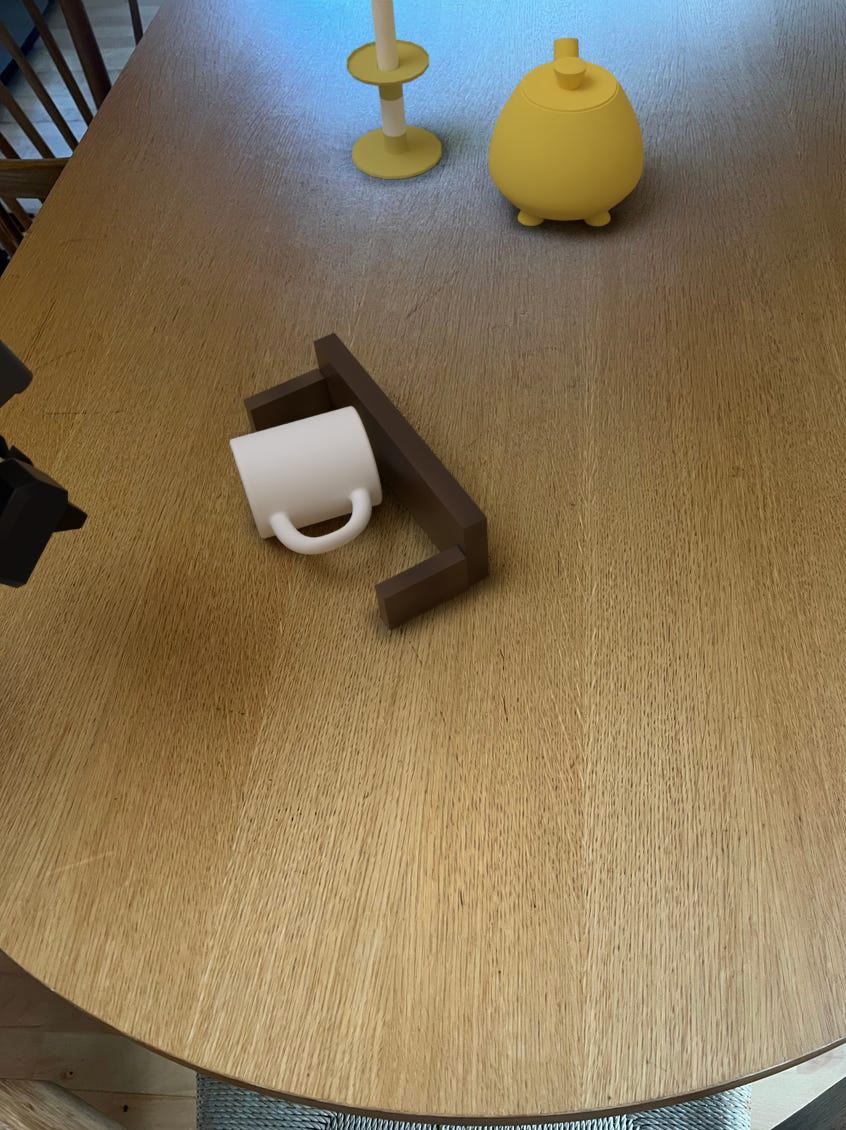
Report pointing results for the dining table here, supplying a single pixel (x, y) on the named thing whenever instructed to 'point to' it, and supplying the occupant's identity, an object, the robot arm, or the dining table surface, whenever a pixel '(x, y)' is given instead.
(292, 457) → the mug
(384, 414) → the shelf
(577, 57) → the teapot
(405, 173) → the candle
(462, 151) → the dining table surface
